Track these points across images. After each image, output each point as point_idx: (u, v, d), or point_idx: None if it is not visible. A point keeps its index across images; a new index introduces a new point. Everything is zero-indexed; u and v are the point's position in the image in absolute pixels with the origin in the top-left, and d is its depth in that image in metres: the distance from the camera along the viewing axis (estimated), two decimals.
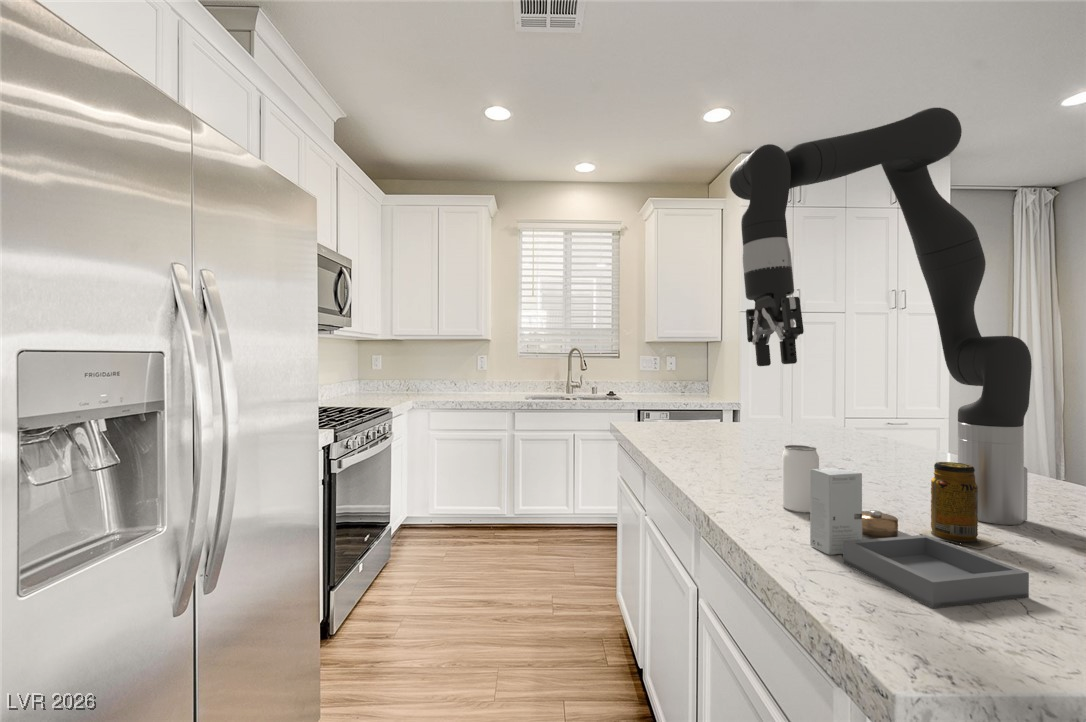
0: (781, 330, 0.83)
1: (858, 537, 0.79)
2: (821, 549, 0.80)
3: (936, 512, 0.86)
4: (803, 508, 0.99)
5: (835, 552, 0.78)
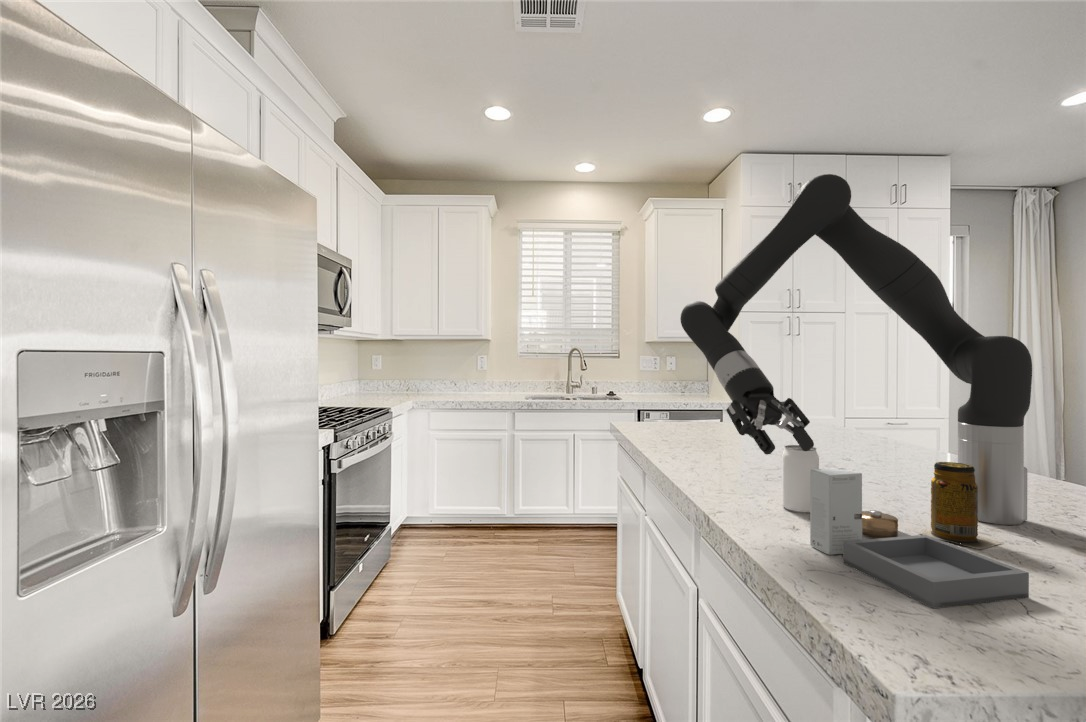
0: None
1: (858, 537, 0.79)
2: (821, 549, 0.80)
3: (936, 512, 0.86)
4: (803, 508, 0.99)
5: (835, 552, 0.78)
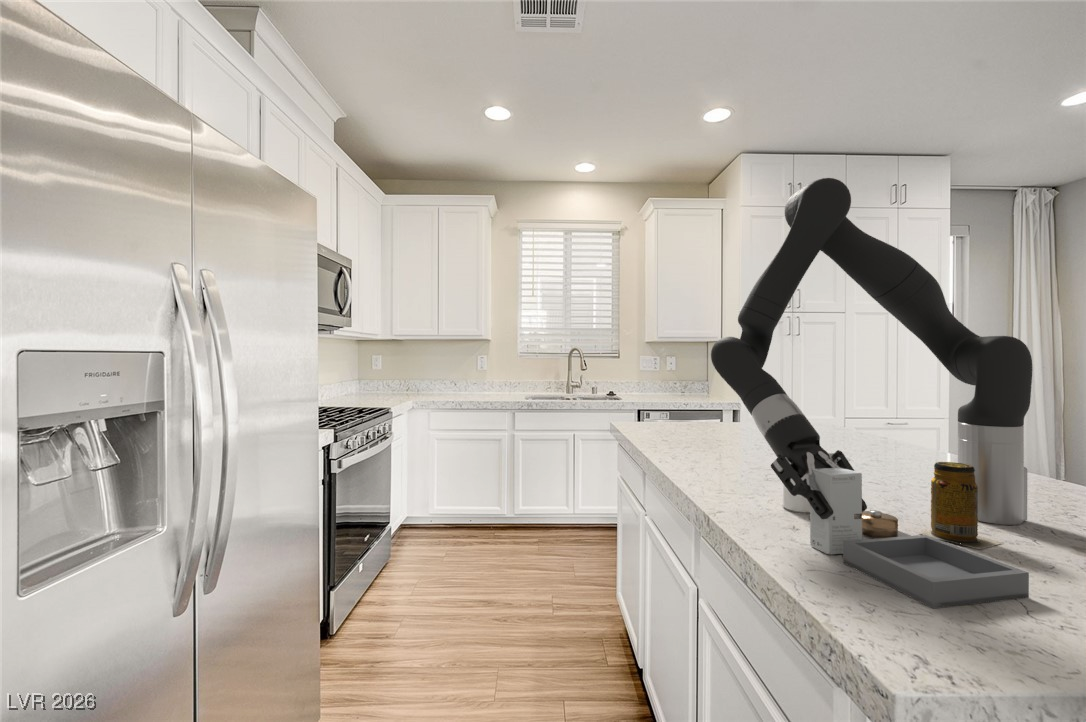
0: None
1: (858, 537, 0.79)
2: (821, 549, 0.80)
3: (936, 512, 0.86)
4: (803, 508, 0.99)
5: (835, 552, 0.78)
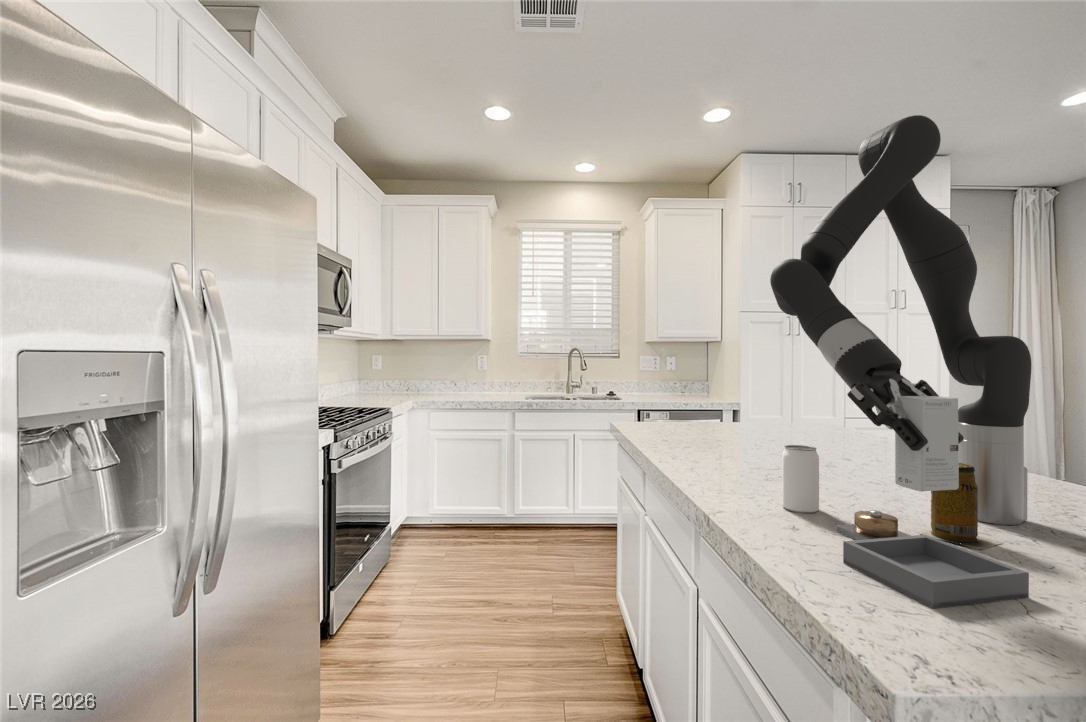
0: None
1: (954, 472, 0.68)
2: (911, 486, 0.69)
3: (936, 512, 0.86)
4: (803, 508, 0.99)
5: (929, 488, 0.68)
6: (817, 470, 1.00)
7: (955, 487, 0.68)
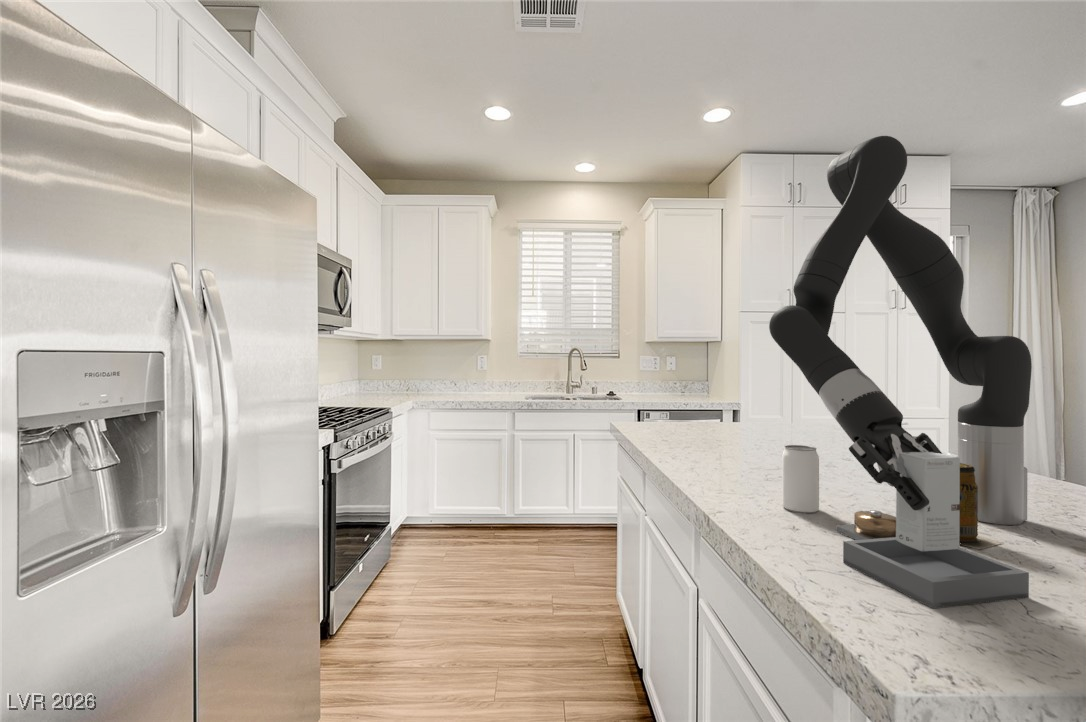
0: None
1: (955, 531, 0.68)
2: (911, 545, 0.69)
3: None
4: (803, 508, 0.99)
5: (930, 548, 0.67)
6: (817, 470, 1.00)
7: (956, 546, 0.68)
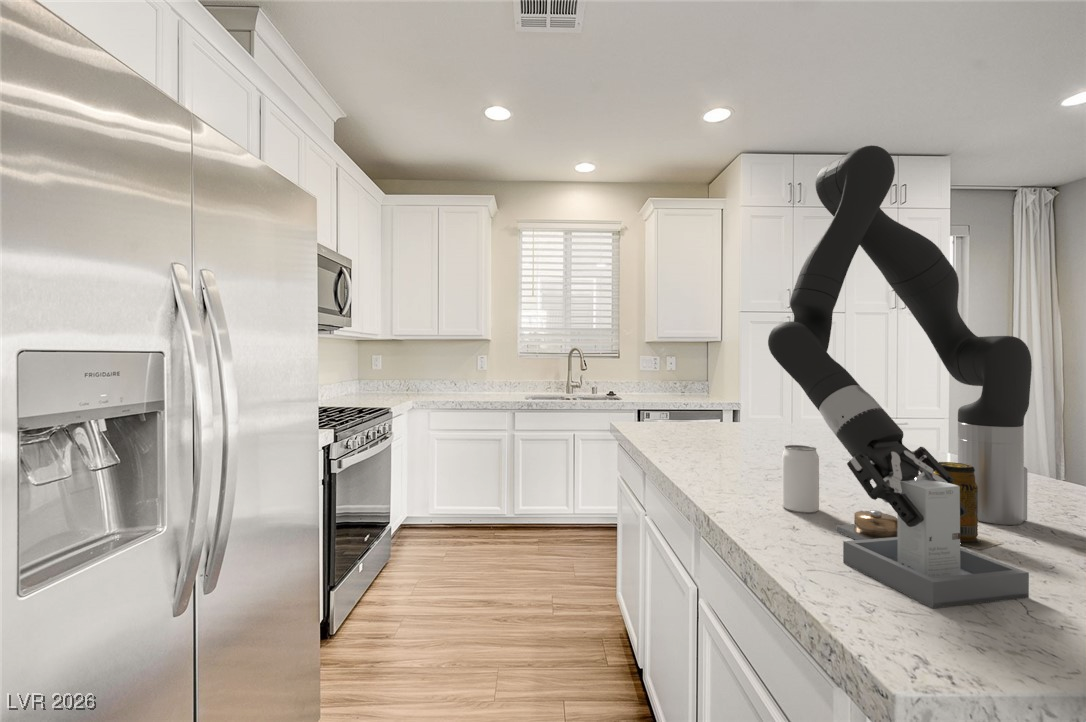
0: None
1: (956, 560, 0.69)
2: None
3: None
4: (803, 508, 0.99)
5: None
6: (817, 470, 1.00)
7: (957, 575, 0.69)
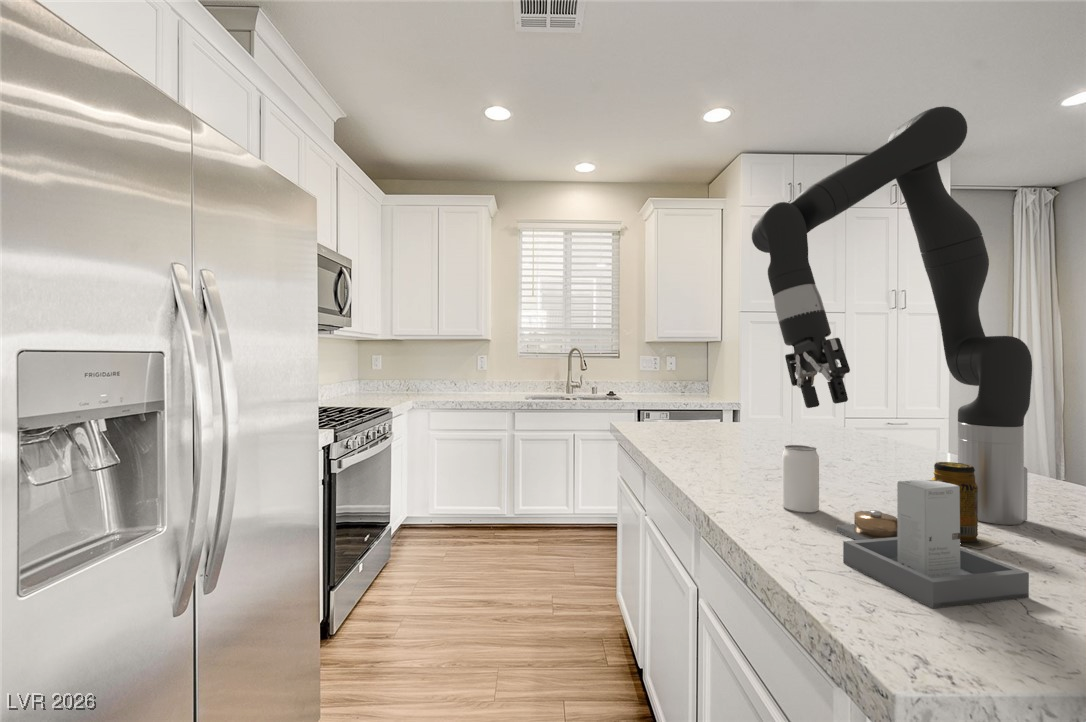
0: (827, 371, 0.86)
1: (956, 560, 0.69)
2: None
3: None
4: (803, 508, 0.99)
5: None
6: (817, 470, 1.00)
7: (957, 575, 0.69)
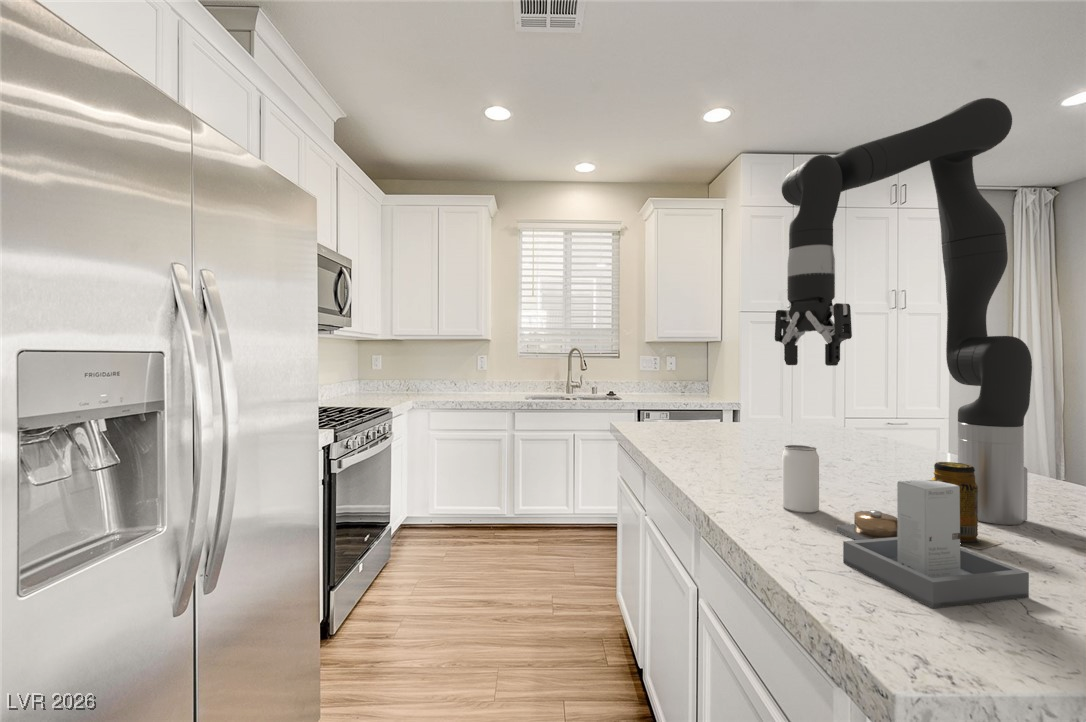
0: (829, 333, 0.89)
1: (956, 560, 0.69)
2: None
3: None
4: (803, 508, 0.99)
5: None
6: (817, 470, 1.00)
7: (957, 575, 0.69)
